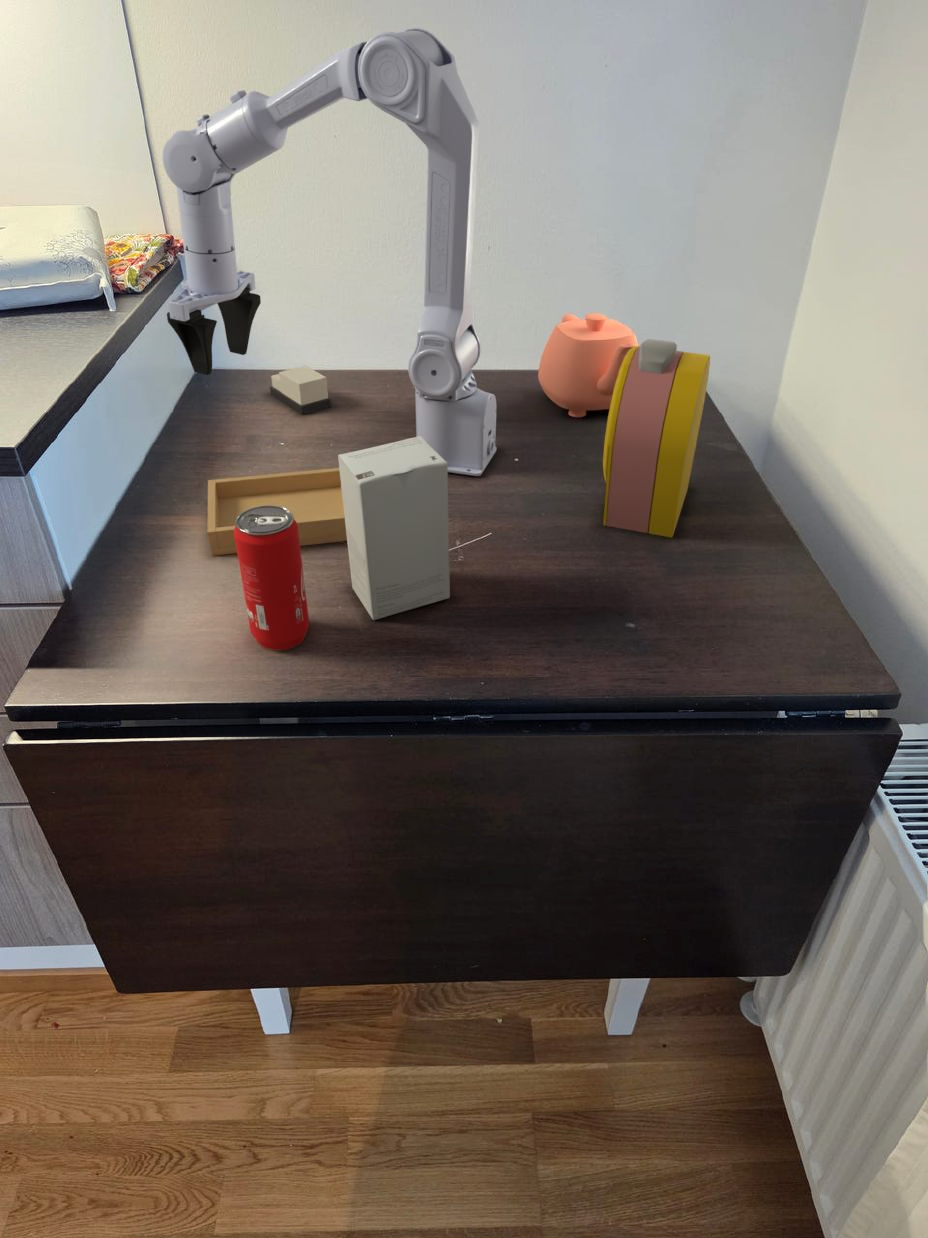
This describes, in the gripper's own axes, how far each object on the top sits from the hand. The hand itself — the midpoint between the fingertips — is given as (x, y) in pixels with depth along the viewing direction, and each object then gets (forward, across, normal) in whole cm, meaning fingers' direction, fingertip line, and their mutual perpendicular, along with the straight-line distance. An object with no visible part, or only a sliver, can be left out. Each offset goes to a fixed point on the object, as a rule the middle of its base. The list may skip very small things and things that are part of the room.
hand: (220, 362), depth 108 cm
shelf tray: (+8, +17, +19) cm, 27 cm away
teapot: (+6, -27, +42) cm, 50 cm away
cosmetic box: (+7, +26, +37) cm, 46 cm away
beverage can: (+8, +36, +30) cm, 47 cm away
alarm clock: (+6, -1, +55) cm, 55 cm away
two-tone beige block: (+9, -12, +4) cm, 16 cm away
